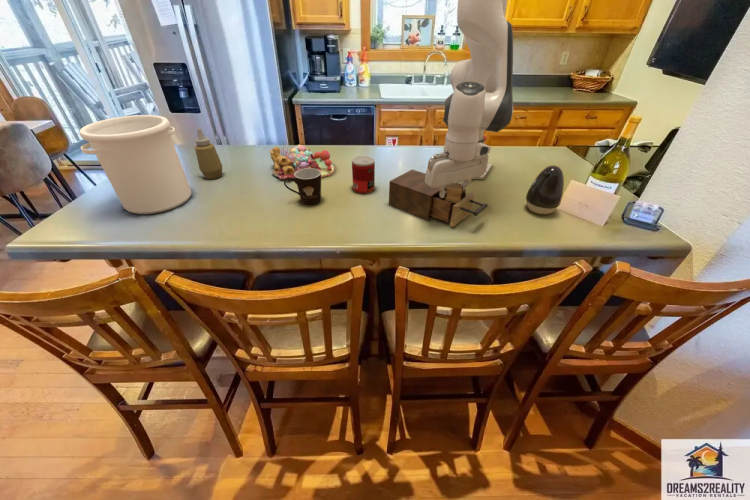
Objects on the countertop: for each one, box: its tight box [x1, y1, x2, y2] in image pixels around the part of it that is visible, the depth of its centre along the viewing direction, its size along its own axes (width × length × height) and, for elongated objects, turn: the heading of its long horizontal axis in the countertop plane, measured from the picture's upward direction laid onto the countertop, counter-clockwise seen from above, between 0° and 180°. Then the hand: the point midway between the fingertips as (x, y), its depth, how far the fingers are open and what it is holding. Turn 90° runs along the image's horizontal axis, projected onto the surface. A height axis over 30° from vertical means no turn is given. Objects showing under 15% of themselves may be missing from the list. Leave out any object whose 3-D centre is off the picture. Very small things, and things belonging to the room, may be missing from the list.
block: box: [445, 182, 462, 203], centre depth 96 cm, size 4×4×4 cm
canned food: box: [351, 155, 376, 195], centre depth 113 cm, size 8×8×11 cm
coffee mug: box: [283, 168, 322, 207], centre depth 106 cm, size 12×9×10 cm
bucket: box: [79, 114, 192, 215], centre depth 101 cm, size 26×22×25 cm
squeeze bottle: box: [194, 128, 223, 180], centre depth 119 cm, size 8×8×18 cm
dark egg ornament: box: [525, 165, 565, 215], centre depth 100 cm, size 10×10×15 cm
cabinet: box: [388, 169, 446, 221], centre depth 104 cm, size 16×13×9 cm
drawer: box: [430, 189, 489, 228], centre depth 98 cm, size 20×11×7 cm, turn 50°
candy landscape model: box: [269, 144, 335, 182], centre depth 128 cm, size 25×24×9 cm
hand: (452, 194), depth 96 cm, fingers closed on block, 6 cm apart
